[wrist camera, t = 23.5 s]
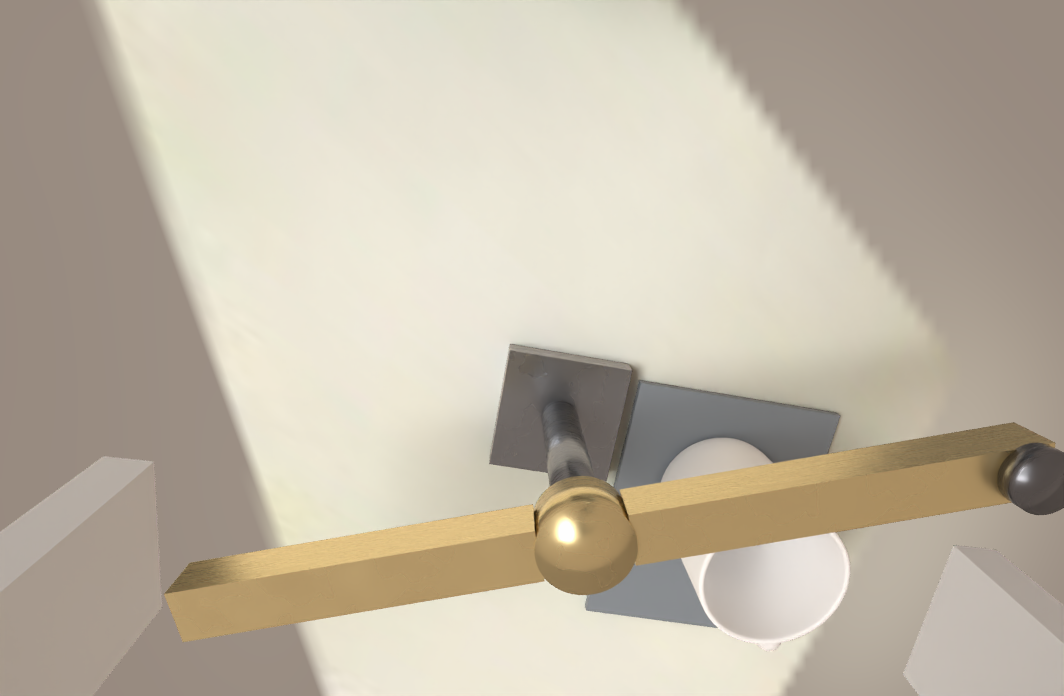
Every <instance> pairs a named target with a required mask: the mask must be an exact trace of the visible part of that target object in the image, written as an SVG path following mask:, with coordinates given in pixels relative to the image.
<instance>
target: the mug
mask: <svg viewBox="0 0 1064 696" xmlns="http://www.w3.org/2000/svg"><path fill="white" fill-rule="evenodd" d="M766 464H772V462H771V461H770V460H769V459H768V458H767V457H766V456H765V455H764V454H763V453H762V452H761V451H760V450H758V449H757V448H755V447H754V446H752V445H750V444H748V443H746V442H744V441H741V440H737V439H733V438H712V439H707V440H703V441H700V442H697V443H695V444H693V445H691V446H689V447H687V448H686V449H684V450H683V451H682V452H680V453H679V454H678V455H677V456H676V457H675V458H674V459H673V460H672V461H671V463H670V464H669V466H668V467H667V469H666V471H665V473H664V475H663V477H662V480H661V482H667V481H673V480H678V479H684V478H690V477H696V476H702V475H708V474H714V473H719V472H725V471H731V470H737V469H743V468H749V467H755V466H761V465H766ZM681 559H682V562H683V564H684V566H685V568H686V571H687V573H688V575H689V577H690V580H691V582H692V584H693V587H694V589H695V591H696V593H697V596H698V598H699V600H700V602H701V605H702V607H703V609H704V611H705V613H706V614H707V616H708V618H709V619H710V620H711V621H712V622H713V624H714V625H716V626H717V627H718V628H719V629H720V630H721V631H723V632H724V633H726V634H728V635H729V636H731V637H733V638H736V639H738V640H741V641H744V642H749V643H754V644H757V645H758V646H759V647H760V648H761V649H763V650H766V651H774V650H776V649H777V648H778V647H779V646H780V644H781V643H782V642H786V641H790V640H793V639H796V638H799V637H801V636H803V635H806V634H808V633H810V632H811V631H813V630H814V629H816V628H818V627H819V626H820V625H821V624H823V623H824V622H825V621H826V620H827V619H828V618H829V617H830V616H831V615H832V614H833V613H834V612H835V610H836V609H837V608H838V607H839V605H840V603H841V602H842V600H843V598H844V596H845V594H846V591H847V588H848V585H849V580H850V561H849V556H848V553H847V550H846V547H845V545H844V543H843V541H842V540H841V538H840V537H839V536H838V534H837V533H836V532H834V533H828V534H822V535H816V536H810V537H804V538H798V539H792V540H786V541H780V542H774V543H768V544H762V545H756V546H750V547H745V548H739V549H733V550H727V551H721V552H715V553H709V554H703V555H697V556H691V557H685V558H681Z"/></svg>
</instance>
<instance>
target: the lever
mask: <svg viewBox="0 0 1064 696" xmlns="http://www.w3.org/2000/svg"><path fill="white" fill-rule="evenodd" d="M1006 503H1014V504H1015V505H1017V506H1018V507H1020V508H1021V509H1023V510H1024V511H1026V512H1028V513H1030V514H1034V515H1047V514H1051V513H1054V512H1056V511H1059V510H1061V509H1062V508H1064V452H1062V451H1060V450H1058V449H1055V442H1052V441H1051V440H1048V439H1046V438H1044V437H1043V436H1040V435H1038V434H1036V433H1034V432H1032V431H1030V430H1028V429H1026V428H1024V427H1022V426H1020V425H1018V424H1016V423H1014V422H1013V423H1008V424H1002V425H996V426H990V427H984V428H978V429H972V430H966V431H960V432H954V433H948V434H943V435H937V436H931V437H925V438H919V439H913V440H907V441H901V442H896V443H890V444H884V445H878V446H872V447H866V448H860V449H855V450H849V451H843V452H837V453H831V454H825V455H819V456H813V457H808V458H802V459H796V460H790V461H784V462H778V463H772V464H766V465H761V466H755V467H749V468H743V469H737V470H731V471H725V472H719V473H714V474H708V475H702V476H696V477H690V478H684V479H678V480H673V481H667V482H661V483H655V484H649V485H643V486H637V487H631V488H626V489H620V494H619V493H618V491H617V490H616V489H615V488H614V487H612V486H611V485H610V484H608V483H607V482H605V481H603V480H600V479H598V478H594V477H588V476H575V477H570V478H566V479H563V480H560V481H558V482H556V483H555V484H553V485H552V486H550V487H549V488H548V489H547V490H545V492H544V493H543V494H542V495H541V496H540V498H539V499H538V501H537V503H536V505H535V508H534V507H533V504H532V505H526V506H520V507H514V508H508V509H502V510H496V511H491V512H485V513H479V514H473V515H467V516H461V517H455V518H449V519H444V520H438V521H432V522H426V523H420V524H414V525H408V526H403V527H397V528H391V529H385V530H379V531H373V532H367V533H361V534H356V535H350V536H344V537H338V538H332V539H326V540H320V541H314V542H309V543H303V544H297V545H291V546H285V547H279V548H273V549H268V550H262V551H256V552H250V553H244V554H238V555H232V556H226V557H221V558H215V559H209V560H203V561H197V562H192V563H189V564H188V566H187V567H186V568H185V569H184V571H183V572H182V573H181V574H180V576H179V577H178V578H177V579H176V580H175V582H174V583H173V584H172V585H171V586H170V588H169V589H168V590H167V591H166V592H165V594H164V595H165V598H166V600H167V603H168V605H169V608H170V610H171V613H172V615H173V618H174V621H175V623H176V625H177V628H178V631H179V633H180V636H181V638H182V641H183V642H187V641H192V640H198V639H204V638H210V637H216V636H222V635H228V634H233V633H240V632H246V631H252V630H257V629H264V628H270V627H275V626H282V625H287V624H294V623H299V622H305V621H311V620H317V619H323V618H329V617H335V616H341V615H347V614H353V613H359V612H365V611H371V610H377V609H383V608H388V607H394V606H400V605H406V604H412V603H418V602H424V601H430V600H436V599H442V598H448V597H454V596H460V595H466V594H472V593H478V592H483V591H489V590H495V589H501V588H507V587H513V586H519V585H525V584H531V583H537V582H543V581H544V578H545V579H546V580H547V581H548V582H549V583H550V584H551V585H553V586H554V587H556V588H558V589H560V590H561V591H564V592H567V593H571V594H576V595H591V594H597V593H601V592H604V591H607V590H609V589H611V588H613V587H614V586H616V585H617V584H619V583H620V582H621V581H622V580H623V579H624V578H625V577H626V576H627V575H628V574H629V573H630V571H631V570H632V568H633V566H634V564H635V565H636V566H638V565H644V564H650V563H656V562H661V561H667V560H673V559H679V558H685V557H691V556H697V555H703V554H709V553H715V552H721V551H727V550H733V549H739V548H745V547H750V546H756V545H762V544H768V543H774V542H780V541H786V540H792V539H798V538H804V537H810V536H816V535H822V534H828V533H834V532H840V531H845V530H851V529H857V528H863V527H869V526H875V525H881V524H887V523H892V522H899V521H905V520H911V519H916V518H923V517H929V516H934V515H940V514H946V513H952V512H958V511H963V510H969V509H976V508H981V507H988V506H993V505H1000V504H1006Z"/></svg>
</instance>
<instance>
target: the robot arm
mask: <svg viewBox="0 0 1064 696" xmlns="http://www.w3.org/2000/svg"><path fill="white" fill-rule="evenodd" d="M156 505H157V504H156V486H155V467H154V462H153V461H144V460H134V459H124V458H115V457H105V456H104V457H102V458H100V459H99V460H98V461H96V462H95V463H94V464H92V465H91V466H89V467H88V468H87V469H85V470H84V471H83V472H81V473H80V474H78V475H77V476H76V477H74V478H73V479H72V480H70V481H69V482H68V483H66V484H65V485H64V486H62V487H61V488H59V489H58V490H57V491H55V492H54V493H53V494H51V495H50V496H48V497H47V498H46V499H44V500H43V501H42V502H40V503H39V504H37V505H36V506H35V507H34V508H32V509H31V510H29V511H28V512H27V513H25V514H24V515H22V516H21V517H20V518H18V519H17V520H16V521H14V522H13V523H12V524H10V525H9V526H8V527H6V528H5V529H3V530H2V531H1V532H0V696H93V695H94V694H95V692H96V691H97V690H98V688H99V687H100V686H101V685H102V683H103V682H104V681H105V680H106V678H107V677H108V675H110V673H111V672H112V670H113V669H114V668H115V667H116V666H117V664H118V663H119V662H120V660H121V659H122V658H123V657H124V655H125V654H126V653H127V651H128V650H129V649H130V648H131V646H132V645H133V644H134V643H135V641H136V640H137V639H138V637H139V636H140V635H141V634H142V632H143V631H144V630H145V628H146V627H147V626H148V625H149V623H150V622H151V621H152V620H153V618H154V617H155V616H156V614H157V613H158V612H159V611H160V609H161V608H162V596H161V579H160V560H159V541H158V524H157V523H158V522H157V506H156ZM903 675H904V676H905V677H906V679H907V680H908V681H909V683H910V684H911V686H912V687H913V688H914V690H915V691H916V692H917V693H918V695H919V696H1064V605H1063V604H1062V603H1060V602H1059V601H1058V600H1057V599H1056V598H1054V597H1053V596H1052V595H1051V594H1049V593H1048V592H1047V591H1046V590H1045V589H1043V588H1042V587H1041V586H1040V585H1038V584H1037V583H1036V582H1035V581H1034V580H1033V579H1031V578H1030V577H1029V576H1028V575H1027V574H1025V573H1024V572H1023V571H1022V570H1020V569H1019V568H1018V567H1017V566H1015V565H1014V564H1013V563H1012V562H1011V561H1009V560H1008V559H1007V558H1006V557H1005V556H1003V555H1002V554H1001V553H1000V552H999V551H997V550H995V549H986V548H976V547H967V546H957V545H953V548H952V550H951V553H950V556H949V558H948V561H947V563H946V566H945V568H944V571H943V573H942V576H941V578H940V581H939V584H938V587H937V589H936V591H935V594H934V596H933V599H932V602H931V604H930V607H929V609H928V612H927V614H926V617H925V619H924V622H923V625H922V627H921V630H920V632H919V635H918V638H917V640H916V642H915V645H914V648H913V650H912V653H911V655H910V658H909V661H908V663H907V665H906V668H905V670H904V673H903Z"/></svg>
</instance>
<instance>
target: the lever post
mask: <svg viewBox="0 0 1064 696" xmlns="http://www.w3.org/2000/svg"><path fill="white" fill-rule="evenodd" d="M631 375H632V369H631V367H630V366H629V364H627V363H621V362H615V361H609V360H603V359H597V358H591V357H585V356H579V355H573V354H567V353H561V352H555V351H549V350H543V349H537V348H531V347H525V346H519V345H513V344H510V346H509V352H508V357H507V363H506V368H505V374H504V380H503V385H502V391H501V396H500V402H499V407H498V413H497V419H496V424H495V430H494V435H493V441H492V446H491V452H490V463H489V464H493V465H500V466H507V467H513V468H520V469H527V470H533V471H540V472H546V473H548V476H549V484H550V486H552V485H553V484H555V483H556V482H558V481H560V480H563V479H566V478H570V477H575V476H588V477H594V478H598V479H600V480H603V481H606V480H607V476H608V472H609V468H610V463H611V459H612V455H613V451H614V446H615V442H616V438H617V434H618V430H619V425H620V421H621V417H622V413H623V408H624V404H625V400H626V396H627V392H628V387H629V383H630V379H631Z"/></svg>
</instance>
